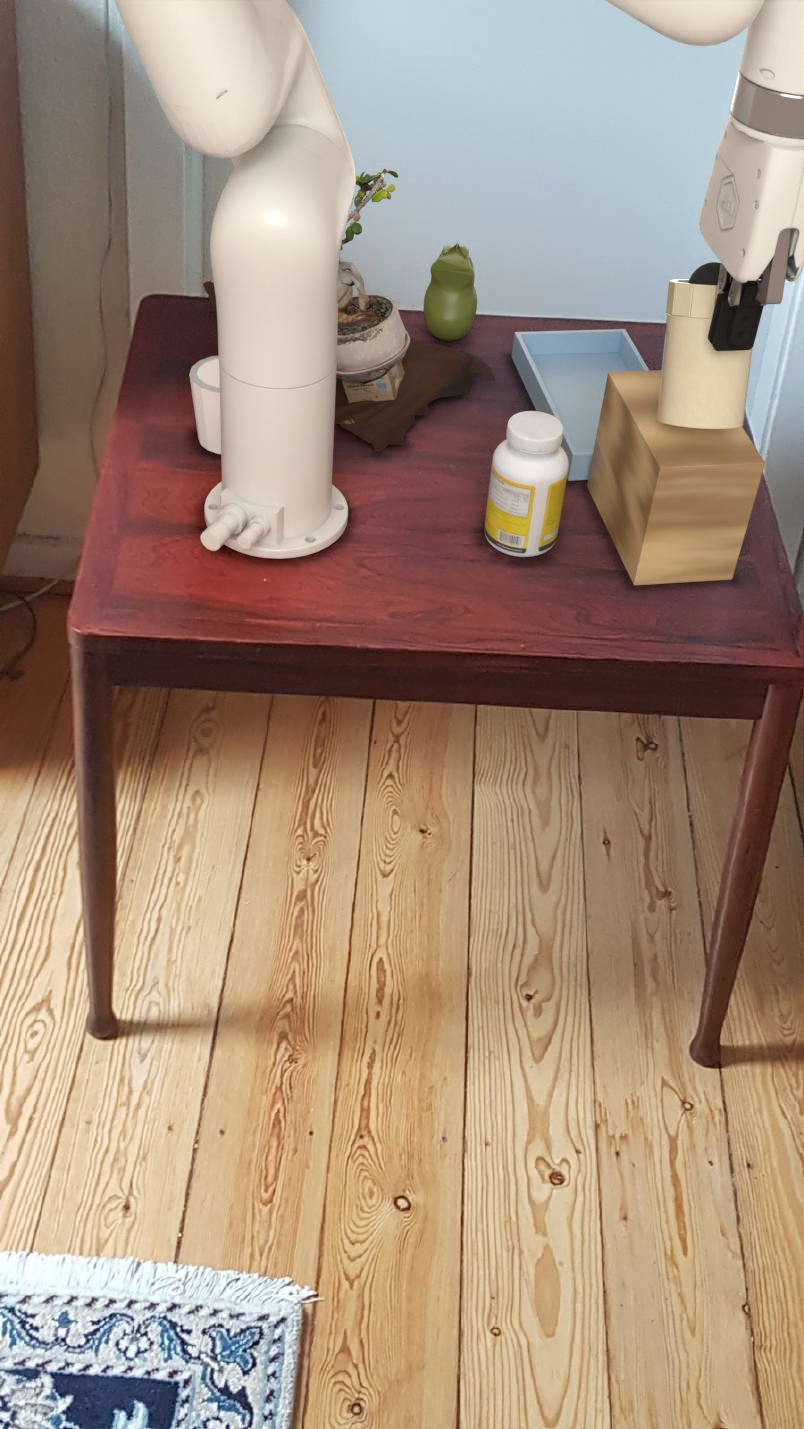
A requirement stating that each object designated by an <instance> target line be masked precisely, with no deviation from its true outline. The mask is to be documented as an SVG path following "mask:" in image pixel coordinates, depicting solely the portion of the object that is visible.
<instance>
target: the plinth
mask: <svg viewBox="0 0 804 1429" xmlns="http://www.w3.org/2000/svg"><path fill="white" fill-rule="evenodd" d="M661 371H662V369H660V370H659V369H656V370H649V371H623V372H608V376H607V381H606V387H605V392H604V397H603V403H602V408H601V413H600V419H599V424H598V429H597V435H596V440H595V446H594V451H593V456H592V462H591V467H590V472H589V478H588V480H587V483H586V487H587V489H588V492H589V494H590V496H591V498H592V500H593V503H594V505H595V507H596V509H597V510H598V514H599V515H600V518H601V519H602V521H603V523H604V525H605V528H606V530H607V532H608V534H609V536H610V538H611V540H612V543H613V545H614V546H615V549H616V550H617V553H618V556H619V557H620V559H621V562H622V564H623V566H624V568H625V570H626V572H627V575H628V576H629V578H630V580H631V582H632V585H633V586H647V585H648V586H649V585H664V584H679V583H681V584H682V583H695V582H696V583H698V582H715V581H716V582H717V581H729V580H730V581H731V580H733V578H734V575H735V572H736V568H737V564H738V560H739V557H740V554H741V550H742V547H743V543H744V540H745V535H746V532H747V528H748V526H749V521H750V518H751V514H752V512H753V507H754V504H755V501H756V497H757V494H758V490H759V487H760V482H761V480H762V476H763V473H764V469H765V466H766V462H765V460H764V459H763V457H762V455H761V453H760V452H759V451H758V449H757V448H756V446H755V444H754V443H753V441H752V440H751V438H750V437H749V435H748V434H747V432H746V430H745V429H744V428H743V426H741V427H738V428H733V429H698V428H687V427H679V426H673V425H669V424H665V423H662V422H660V421H658V420H657V412H658V402H659V391H660V381H661Z"/></svg>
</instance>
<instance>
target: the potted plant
mask: <svg viewBox="0 0 804 1429" xmlns="http://www.w3.org/2000/svg"><path fill="white" fill-rule="evenodd" d="M386 174H389V175H390V176H392V177H394V178H396V179H398V178H399V174H398V173H397V171H395V170H387V169H386V168H383V170H382V171H377V172H376V174H373V175H371V174H369V173H366V174H365V171H363V172H362V173H360V175H356V186H358V187H359V189H358V190H357V194H356V196H354V199H353V203H354V206H355V209H354V210H350V213H349V217H348V221H347V224H348V223H349V226H348V227H346V229H345V232H344V234H345V238H343V239H342V244H341V250H340V252H342V251H343V250H344V245H346V244H348V243H349V242H352V241H353V240H354V237H355V235H357V236H358V235H361V234H362V233H363V226H362V225H361V223H359V221H360V220H361V218H362V217H361V215H360V212H361V211H362V209H363V208H364V207H366V205H367V204H368V203H369V202H370V200H371V202H372V203H380V202H382V200H383V199H384V200H386V199H387V200H389V201H390V200H391V199H392V194H391V193H392V192H395V190H396V186H395V185H394V184H393V183H390V184H389V185H388V186H387V182H388V181H385V177H386ZM371 182H372V183H371ZM386 186H387V187H386ZM384 188H385V189H384ZM367 192H368V194H367ZM351 220H353V221H352V222H349V221H351ZM364 281H365V280H364V278H363V277H362V274H361V273H360V272H359V271H358V269H357V268H356V265H355V263H353V262H351V261H343V259H342V257H341V256H340V257H339V266H338V283H337V301H338V331H337V359H336V360H337V370H336V394H335V419H334V426H337V425H339V426H340V427H341V428H342V429H344V430H346V431H350V432H351V433H352V434H354V435H355V436H357V437H359V438H360V439H362V440H363V441H364V442H366V443H367V444H371V445H372V447H373V448H374V451H375V452H382V451H384V450H385V448H386V447H388V446H389V445H397V446H401V447H404V446H405V436H406V434H405V433H406V432H407V431H409V430H410V428H412V427H413V425H415V423H416V419H415V418H416V417H415V416H425V415H427V414H428V413H429V412H430V409H429V407H428V406H429V404H430V403H431V402H433V401H434V400H437V399H440V398H447V397H455V396H459V395H463V394H468V393H470V390H471V387H472V383H473V379H474V374H475V372H476V373H478V374H480V375H483V376H485V377H488V378H490V379H492V380H495V379H496V377H495V375H494V373H493V371H492V369H491V368H490V366H489V364H487V363H486V362H485V361H484V360H482V358H480V357H479V356H478V355H474V354H471V353H470V352H467V351H465V350H457V349H454V348H451V347H449V346H444V345H441V344H437V343H433V342H427V341H425V340H424V341H423V340H420V339H415V338H414V337H410V335H409V332H408V330H406V327H405V325H404V322H403V320H402V318H401V315H400V312H399V309H398V305H397V304H396V301H395V300H393V299H392V298H390V297H388V296H386V295H381V294H373V293H369V294H366V291H365V282H364ZM202 285H203V286H202V287H203V288H204V291H205V292H206V294H207V295H208V300H209V302H210V304H211V307H212V309H213V313H214V316H215V318H216V319H217V306H216V296H215V288H214V281H211V280H209V281H205V282H203V283H202ZM353 286H354V287H355V289H356V291H357V292H358V295H354V296H353V293H354V292H353V291H354V290H353V288H354V287H353Z"/></svg>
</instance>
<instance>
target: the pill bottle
mask: <svg viewBox="0 0 804 1429" xmlns="http://www.w3.org/2000/svg"><path fill="white" fill-rule="evenodd" d="M505 435H506V436H505V437H506V439H504V440H503V441H501V442H500V443H499V444H498V446H496V448H495V449H494V451H493V454H492V460H491V468H490V476H489V485H488V492H487V493H488V494H487V502H486V511H485V520H484V527H483V528H484V536H485V539H486V540H487V542H488V543H489V544H490V545H491V547H493V548H494V549H496V550H497V551H498V552H501V553H503V554H505V555H508V556H512V557H517V558H532V557H536V556H540V555H543V554H546V553H547V552H549V551H550V550H551V549H552V548H553V547H554V545H555V544H556V543H557V542H556V541H557V539H558V534H559V528H560V521H561V516H562V510H563V506H564V504H563V503H564V497H565V492H566V485H567V481H568V479H567V475H568V467H569V461H568V457H567V454H566V452H565V451H564V450H563V448H562V447H561V443H562V438H563V425H562V423H561V422H560V421H559V420H558V419H557V418H556V417H554V416H552V415H550V414H547V413H544V412H539V411H536V410H525V411H520V412H517V413H514V414H513V415H512V416H510V418H509V419H508V421H507V426H506V432H505Z"/></svg>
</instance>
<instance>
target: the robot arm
mask: <svg viewBox="0 0 804 1429" xmlns="http://www.w3.org/2000/svg"><path fill="white" fill-rule="evenodd" d="M113 1H114V3H115V4H114V5H115V6H116V9H117V11H118V13H119V16H120V19H121V20H122V23H123V25H124V27H125V30H126V32H127V34H128V36H129V38H130V41H131V43H132V44H133V47H134V49H135V52H136V53H137V56H138V58H139V60H140V63H141V64H142V67H143V69H144V72H145V73H146V75H147V78H148V80H149V82H150V84H151V87H152V89H153V91H154V95H155V96H156V99H157V100H158V103H159V106H160V107H161V110H162V112H163V114H164V116H165V118H166V120H167V121H168V123H169V124H170V126H171V127H172V129H173V131H174V133H175V134H176V135H177V136H178V137H179V138H180V140H182V141H183V142H184V144H186V145H187V146H188V147H190V148H191V149H193V150H194V151H196V152H197V153H198V154H201V155H203V156H207V157H209V158H213V159H214V158H215V159H230V161H231V163H232V165H233V169H232V171H231V173H230V174H229V177H228V179H227V182H226V184H225V186H224V188H223V190H222V192H221V194H220V196H219V199H218V202H217V205H216V207H215V211H214V215H213V218H212V224H211V231H210V237H209V238H210V239H209V242H210V243H209V252H210V265H211V275H212V282H214V288H215V296H216V306H217V318H216V322H217V323H216V324H217V351H218V352H217V353H218V355H217V356H218V358H219V376H220V423H221V454H220V460H221V461H220V463H221V464H220V465H221V469H220V470H221V481H220V482H218V483H217V484H216V485H215V486H214V487H212V489H211V490H210V491H209V493H208V494H207V496H206V498H205V501H204V506H203V507H204V508H203V510H204V511H203V512H204V514H203V516H204V522H205V526H206V528H205V529H204V530H203V531H202V533H201V534H200V535H199V536H200V542H201V544H202V546H203V547H205V549H206V550H209V551H211V552H217V551H218V550H220V548H222V547H223V546H226V547H227V548H230V549H231V550H234V551H236V552H238V553H241V554H244V555H247V556H251V557H257V558H261V559H275V560H283V559H284V560H285V559H295V558H301V557H306V556H309V555H312V554H315V553H318V552H320V551H322V550H325V549H326V548H328V547H330V546H331V545H333V544H334V543H335V542H336V541H338V540H339V538H340V537H341V536H343V534H344V532H345V530H346V528H347V526H348V520H349V506H348V502H347V500H346V497H345V496H344V494H343V493H342V492H341V490H339V488H338V487H336V485H334V484H333V465H334V464H333V463H334V443H335V442H334V441H335V424H334V419H335V394H336V370H337V360H336V359H337V331H338V301H337V283H338V266H339V257H340V258H341V251H342V250H341V244H342V240H344V234H345V232H346V229H347V226H348V223H347V221H348V217H349V214H350V213H351V211H352V206H353V203H354V199H355V194H356V193H355V192H356V186H357V185H356V177H357V175H356V166H355V162H354V157H353V154H352V150H351V148H350V144H349V142H348V138H347V136H346V133H345V130H344V128H343V125H342V123H341V121H340V118H339V116H338V113H337V110H336V107H335V105H334V103H333V100H332V96H331V94H330V92H329V89H328V87H327V84H326V82H325V79H324V76H323V74H322V71H321V68H320V66H319V63H318V61H317V58H316V55H315V52H314V50H313V48H312V45H311V43H310V41H309V37H308V36H307V33H306V31H305V29H304V27H303V25H302V22H301V21H300V19H299V17H298V16H297V14H296V13H295V12H296V11H294V9H293V8H292V6H290V4H289V2H288V1H287V0H113ZM604 1H605V2H607V3H609V4H610V5H612V6H613V7H614V8H616V9H618V10H620V11H622V12H624V13H625V14H627V15H628V16H630V17H632V18H633V19H635V20H636V21H638V22H639V23H641V24H643V25H645V26H646V27H648V28H649V29H651V30H653V31H654V32H657V33H658V34H660V35H661V36H663V37H665V38H666V39H669V40H672V41H674V42H676V43H679V44H684V45H688V46H692V47H710V46H717V45H720V44H722V43H726V42H728V41H730V40H732V39H734V38H735V37H737V36H739V35H740V34H741V33H742V32H743V31H745V30H746V29H747V32H746V35H745V41H744V46H743V50H742V54H741V60H740V65H739V69H738V73H737V78H736V83H735V87H734V92H733V97H732V101H731V106H730V110H729V115H728V119H727V120H726V124H725V127H724V129H723V132H722V136H721V138H720V140H719V144H718V148H717V151H716V154H715V157H714V162H713V165H712V168H711V172H710V177H709V180H708V184H707V187H706V193H705V195H704V199H703V203H702V207H701V211H700V217H699V222H698V223H699V224H698V225H699V226H698V227H699V230H700V234H701V235H702V237H703V239H704V240H705V242H706V244H707V245H708V246H709V248H710V249H711V251H712V252H713V254H714V255H715V257H716V258H717V259H718V260H719V263H721V266H720V272H719V278H718V290H719V291H720V292H724V293H718V294H717V299H716V303H715V308H714V312H713V316H712V321H711V325H710V329H709V334H708V340H709V341H710V343H711V344H712V346H713V348H714V349H715V350H716V351H740V350H750V349H752V350H753V348H754V346H755V342H756V338H757V333H758V330H759V326H760V323H761V319H762V315H763V310H764V307H766V306H767V305H781V303H782V302H783V298H784V297H783V296H784V290H785V283H786V281H788V282H791V283H793V282H795V281H797V279H799V277H800V276H801V275H802V273H803V270H804V0H604ZM348 222H349V221H348ZM340 250H341V251H340Z"/></svg>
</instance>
